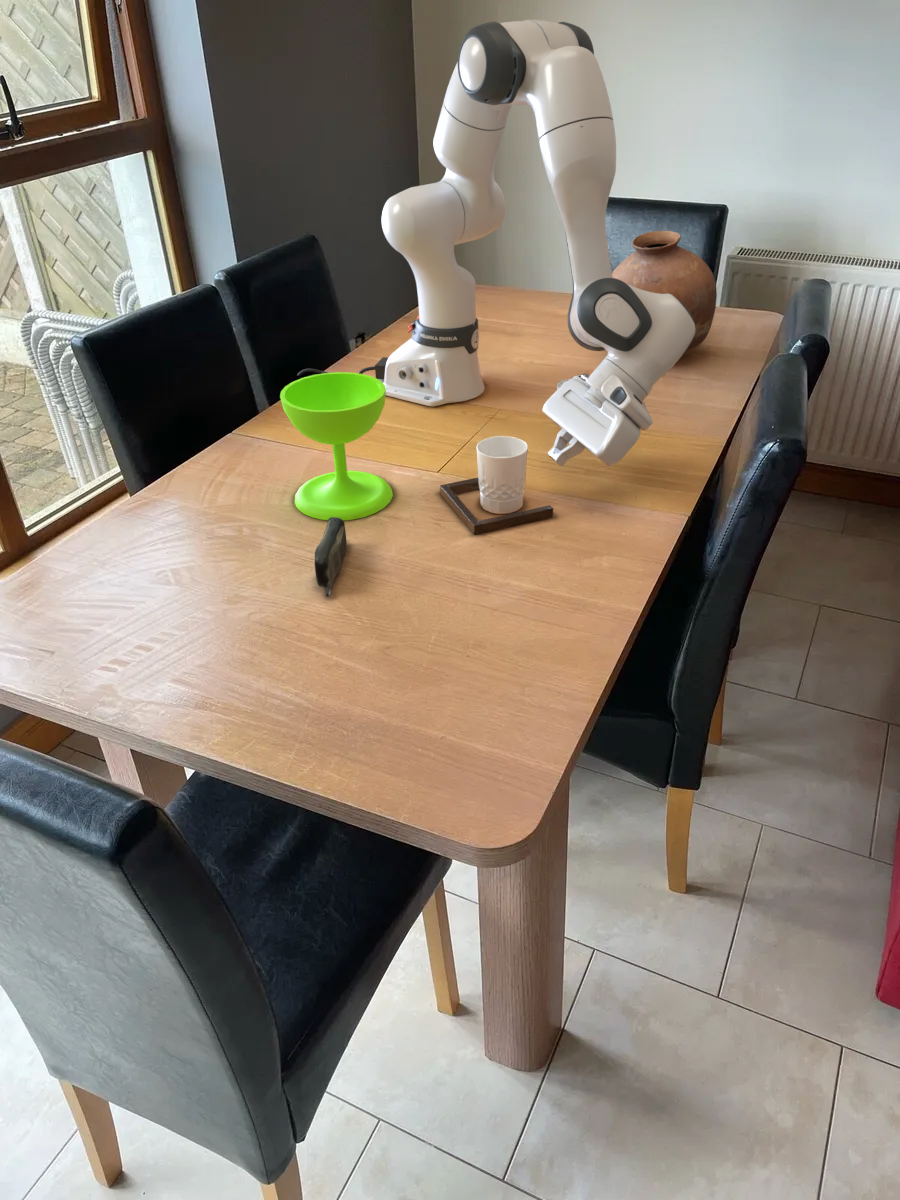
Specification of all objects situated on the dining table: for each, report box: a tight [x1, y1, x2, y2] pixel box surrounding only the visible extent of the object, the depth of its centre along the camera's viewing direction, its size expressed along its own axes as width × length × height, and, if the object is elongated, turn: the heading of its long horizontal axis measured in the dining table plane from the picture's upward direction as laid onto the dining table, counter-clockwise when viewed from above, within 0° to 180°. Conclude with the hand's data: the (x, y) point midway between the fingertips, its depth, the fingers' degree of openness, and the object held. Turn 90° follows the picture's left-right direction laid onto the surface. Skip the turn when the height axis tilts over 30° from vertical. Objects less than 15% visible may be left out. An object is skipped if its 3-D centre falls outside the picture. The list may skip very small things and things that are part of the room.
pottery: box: [612, 230, 718, 357], centre depth 193 cm, size 23×23×25 cm
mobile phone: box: [314, 517, 347, 598], centre depth 130 cm, size 5×3×15 cm
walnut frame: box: [439, 477, 554, 536], centre depth 145 cm, size 13×14×2 cm
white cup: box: [476, 435, 529, 515], centre depth 143 cm, size 8×8×10 cm
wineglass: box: [279, 371, 394, 521], centre depth 144 cm, size 16×16×18 cm
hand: (554, 460), depth 145 cm, fingers closed
